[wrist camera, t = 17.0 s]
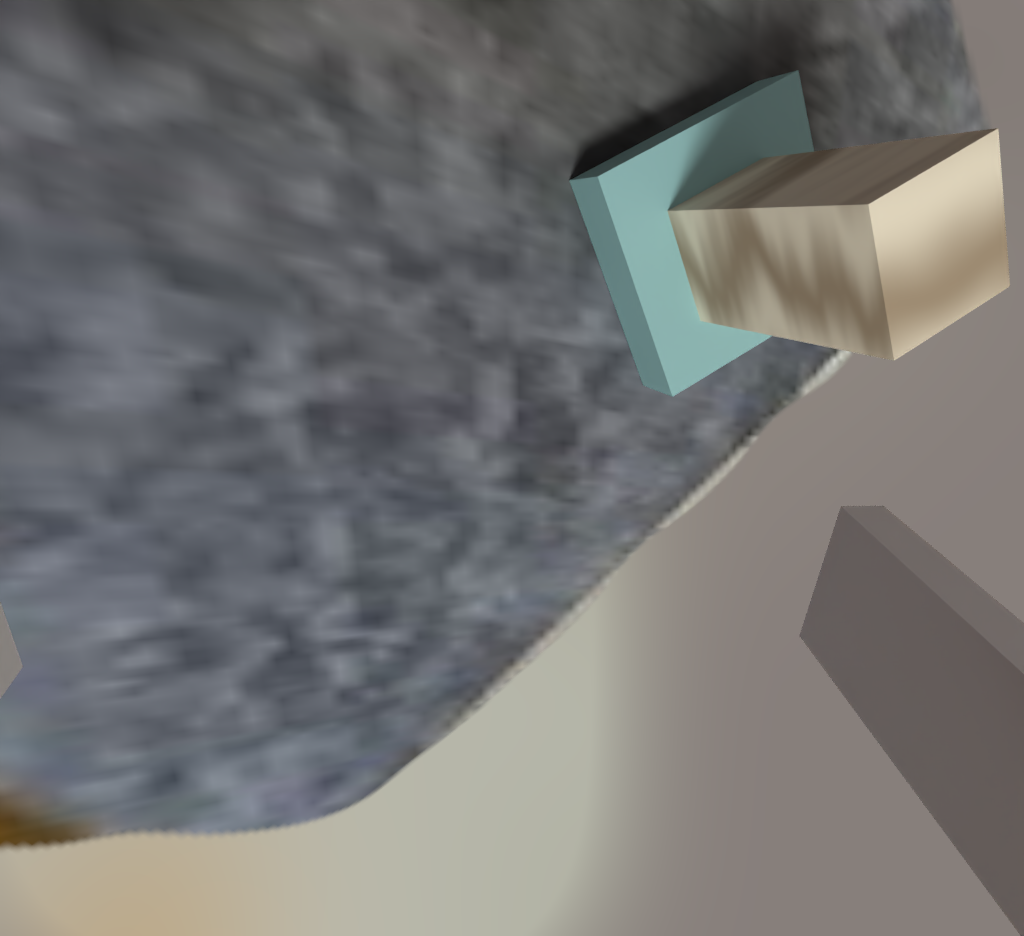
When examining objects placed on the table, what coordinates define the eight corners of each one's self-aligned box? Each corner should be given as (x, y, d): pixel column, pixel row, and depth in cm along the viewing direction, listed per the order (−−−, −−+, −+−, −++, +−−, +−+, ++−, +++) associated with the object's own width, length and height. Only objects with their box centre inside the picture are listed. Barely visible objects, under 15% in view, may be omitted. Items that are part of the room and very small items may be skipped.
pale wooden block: (667, 211, 33) (868, 204, 23) (763, 157, 34) (998, 128, 24) (700, 321, 36) (894, 360, 26) (788, 268, 37) (1009, 286, 27)
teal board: (569, 180, 34) (597, 176, 32) (757, 81, 36) (798, 70, 34) (643, 385, 40) (672, 396, 37) (803, 289, 42) (841, 293, 39)
